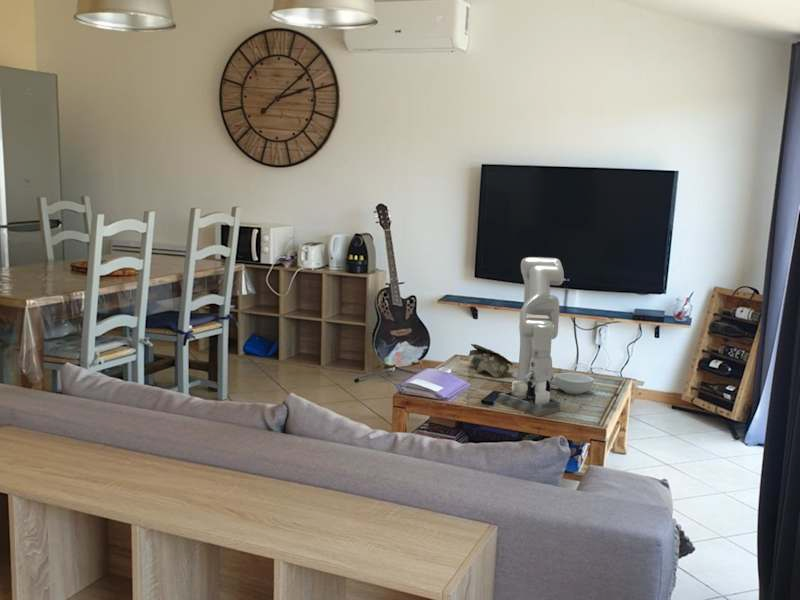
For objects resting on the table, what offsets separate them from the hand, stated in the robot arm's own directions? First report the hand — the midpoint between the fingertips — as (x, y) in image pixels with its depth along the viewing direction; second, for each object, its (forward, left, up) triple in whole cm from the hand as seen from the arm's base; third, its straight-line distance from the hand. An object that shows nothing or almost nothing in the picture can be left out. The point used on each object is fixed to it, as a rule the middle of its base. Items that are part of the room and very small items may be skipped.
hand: (538, 393), depth 332 cm
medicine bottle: (0, 0, -6) cm, 6 cm away
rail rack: (-5, 0, -7) cm, 8 cm away
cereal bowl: (-9, +35, -7) cm, 37 cm away
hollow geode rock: (-56, +29, -7) cm, 63 cm away
